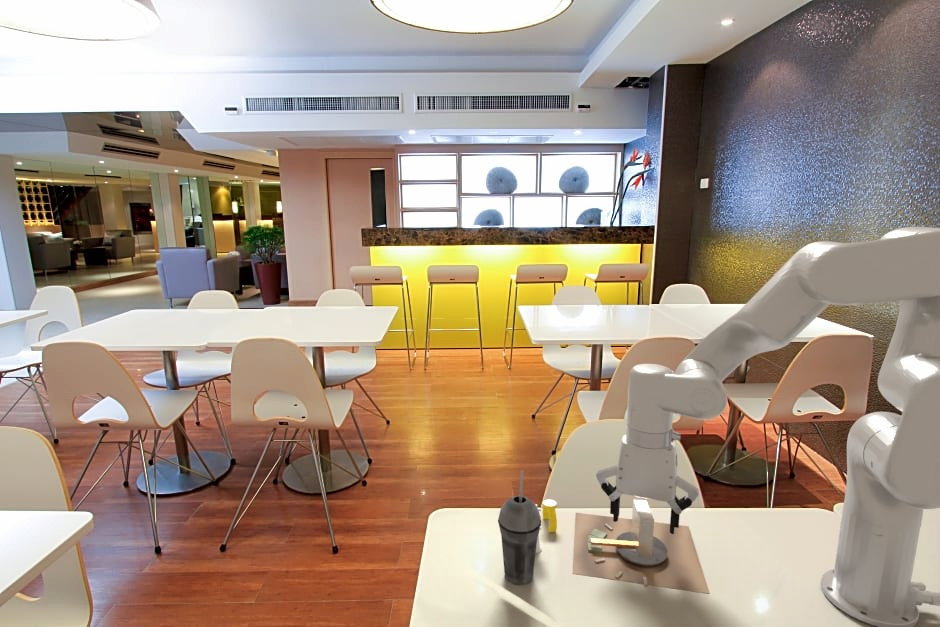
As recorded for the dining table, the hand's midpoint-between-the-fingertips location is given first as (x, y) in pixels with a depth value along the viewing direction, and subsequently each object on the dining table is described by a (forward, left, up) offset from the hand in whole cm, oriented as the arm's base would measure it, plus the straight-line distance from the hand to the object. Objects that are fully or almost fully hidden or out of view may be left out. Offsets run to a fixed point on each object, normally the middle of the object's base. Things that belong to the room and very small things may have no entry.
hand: (643, 523), depth 93 cm
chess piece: (+19, +3, -7) cm, 21 cm away
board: (+1, -1, -7) cm, 7 cm away
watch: (+17, -5, -7) cm, 19 cm away
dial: (+2, 0, -5) cm, 6 cm away
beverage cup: (+21, +11, -7) cm, 25 cm away
